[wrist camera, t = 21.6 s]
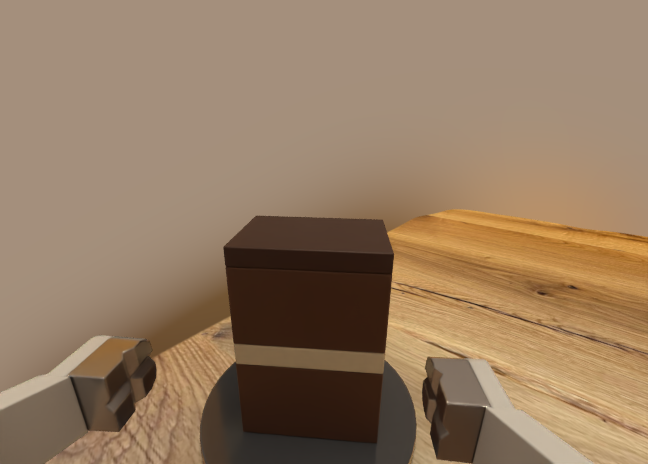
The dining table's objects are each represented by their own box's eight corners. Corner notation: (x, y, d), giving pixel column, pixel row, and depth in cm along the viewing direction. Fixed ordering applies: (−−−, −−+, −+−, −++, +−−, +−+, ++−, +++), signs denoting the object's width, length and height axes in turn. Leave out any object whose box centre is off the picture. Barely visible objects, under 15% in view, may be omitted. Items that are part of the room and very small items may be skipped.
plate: (335, 631, 9) (336, 616, 9) (157, 429, 15) (154, 417, 15) (443, 395, 17) (445, 383, 17) (299, 324, 23) (299, 315, 22)
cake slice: (377, 444, 13) (394, 253, 10) (242, 432, 14) (222, 246, 11) (371, 374, 17) (382, 219, 14) (266, 366, 18) (255, 215, 15)
